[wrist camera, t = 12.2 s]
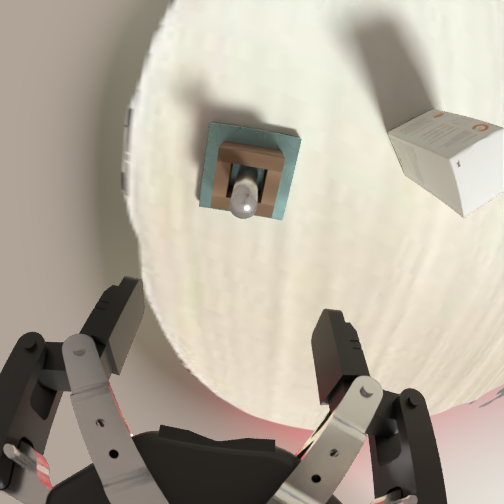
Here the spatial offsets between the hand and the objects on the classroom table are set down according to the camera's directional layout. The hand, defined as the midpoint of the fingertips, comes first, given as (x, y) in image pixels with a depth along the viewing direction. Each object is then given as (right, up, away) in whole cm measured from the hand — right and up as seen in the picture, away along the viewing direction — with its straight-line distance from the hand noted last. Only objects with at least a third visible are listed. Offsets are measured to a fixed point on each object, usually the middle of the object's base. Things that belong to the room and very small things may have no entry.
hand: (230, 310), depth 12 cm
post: (0, +12, +20) cm, 23 cm away
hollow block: (0, +11, +19) cm, 22 cm away
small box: (+22, +16, +17) cm, 32 cm away
